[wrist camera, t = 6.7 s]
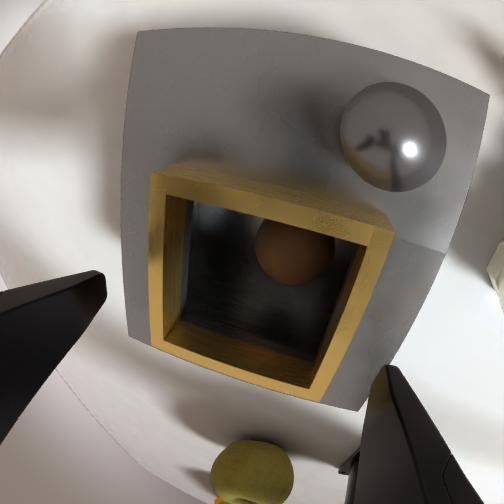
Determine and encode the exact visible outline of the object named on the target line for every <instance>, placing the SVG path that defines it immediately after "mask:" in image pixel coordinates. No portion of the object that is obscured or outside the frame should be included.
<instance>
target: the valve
mask: <svg viewBox="0 0 504 504" xmlns="http://www.w3.org/2000/svg"><path fill="white" fill-rule="evenodd" d="M486 270H487V273H488V275H489V278H490V280H491V283H492V285H493V288H494V290H495V292H496V293H497V295H498V296H499V300H500V304H501V308H502V310H503V313H504V241H502V242H500V244H499V246H498V247H497V249H496V251H495V253H494V255H493V257H492V258H491V260H490V262H489V264H488V266H487V268H486Z"/></svg>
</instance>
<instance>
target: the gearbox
mask: <svg viewBox="0 0 504 504" xmlns="http://www.w3.org/2000/svg"><path fill="white" fill-rule="evenodd" d="M489 96H490V95H489V94H487V93H485V92H483V91H481V90H479V89H477V88H475V87H473V86H471V85H469V84H467V83H464V82H462V81H460V80H458V79H456V78H453V77H451V76H449V75H446V74H444V73H441V72H439V71H436V70H434V69H431V68H429V67H426V66H423V65H421V64H418V63H415V62H412V61H409V60H406V59H403V58H400V57H397V56H394V55H391V54H387V53H384V52H380V51H377V50H373V49H370V48H366V47H362V46H358V45H354V44H349V43H345V42H340V41H336V40H331V39H325V38H320V37H314V36H308V35H302V34H295V33H287V32H279V31H269V30H258V29H243V28H175V29H160V30H149V31H139V32H138V33H137V38H136V43H135V49H134V54H133V60H132V67H131V73H130V80H129V88H128V96H127V104H126V114H125V124H124V136H123V151H122V172H121V248H122V268H123V284H124V296H125V307H126V317H127V326H128V334H129V336H130V337H132V338H134V339H136V340H139V341H141V342H143V343H145V344H147V345H150V346H152V347H154V348H157V349H159V350H161V351H164V352H166V353H169V354H171V355H173V356H176V357H178V358H181V359H183V360H186V361H188V362H191V363H194V364H196V365H199V366H201V367H204V368H207V369H209V370H212V371H215V372H218V373H221V374H223V375H226V376H229V377H232V378H235V379H238V380H241V381H244V382H247V383H250V384H253V385H257V386H260V387H263V388H266V389H270V390H273V391H276V392H280V393H283V394H287V395H290V396H294V397H298V398H302V399H305V400H309V401H313V402H317V403H321V404H325V405H330V406H334V407H338V408H343V409H348V410H352V411H357V412H358V411H359V410H360V408H361V407H362V405H363V404H364V402H365V401H366V400H367V398H368V397H369V392H370V387H371V384H372V382H373V381H374V379H375V377H376V376H377V374H378V373H379V371H380V369H381V368H382V366H383V365H385V364H390V363H391V361H392V359H393V358H394V356H395V354H396V353H397V351H398V349H399V348H400V346H401V344H402V342H403V341H404V339H405V337H406V335H407V334H408V332H409V330H410V328H411V326H412V324H413V322H414V321H415V319H416V317H417V315H418V313H419V311H420V309H421V307H422V305H423V303H424V301H425V299H426V297H427V295H428V293H429V291H430V288H431V286H432V284H433V282H434V280H435V278H436V275H437V273H438V271H439V269H440V266H441V264H442V262H443V259H444V257H445V254H446V252H447V249H448V247H449V244H450V242H451V239H452V237H453V234H454V231H455V229H456V226H457V223H458V220H459V217H460V214H461V212H462V209H463V206H464V203H465V199H466V196H467V193H468V190H469V186H470V183H471V180H472V176H473V172H474V169H475V165H476V161H477V157H478V153H479V149H480V144H481V140H482V135H483V131H484V126H485V120H486V115H487V109H488V103H489ZM265 218H266V219H270V220H274V221H278V222H281V223H285V224H289V225H293V226H296V227H300V228H304V229H308V230H311V231H315V232H319V233H322V234H326V235H329V236H333V237H335V254H334V258H333V260H332V262H331V264H330V266H329V268H328V269H327V271H326V272H325V273H324V274H323V275H322V276H321V277H319V278H318V279H316V280H315V281H313V282H311V283H308V284H304V285H286V284H283V283H280V282H278V281H276V280H274V279H273V278H271V277H270V276H269V275H268V274H267V273H266V272H265V271H264V270H263V268H262V267H261V265H260V263H259V261H258V259H257V256H256V251H255V240H256V235H257V232H258V229H259V227H260V225H261V223H262V222H263V220H264V219H265Z"/></svg>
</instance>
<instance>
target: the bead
mask: <svg viewBox="0 0 504 504" xmlns="http://www.w3.org/2000/svg"><path fill="white" fill-rule="evenodd" d="M255 251H256V256H257V259H258V261H259V263H260V265H261V267H262V268H263V270H264V271H265V272H266V273H267V274H268V275H269V276H270V277H271V278H273V279H274V280H276V281H278V282H280V283H283V284H286V285H304V284H308V283H311V282H313V281H315V280H316V279H318V278H319V277H321V276H322V275H323V274H324V273H325V272H326V271H327V269H328V268H329V266H330V264H331V262H332V260H333V258H334V254H335V237H333V236H329V235H326V234H322V233H319V232H315V231H311V230H308V229H304V228H300V227H296V226H293V225H289V224H285V223H281V222H278V221H274V220H270V219H266V218H265V219H264V220H263V222H262V223H261V225H260V227H259V229H258V232H257V235H256V240H255Z"/></svg>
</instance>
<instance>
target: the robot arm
mask: <svg viewBox="0 0 504 504" xmlns="http://www.w3.org/2000/svg"><path fill="white" fill-rule="evenodd" d="M106 298H107V288H106V279H105V276H104V274H103V273H101V272H98V271H96V270H92V271H87V272H83V273H78V274H74V275H69V276H65V277H61V278H56V279H52V280H48V281H43V282H39V283H35V284H31V285H26V286H22V287H18V288H14V289H10V290H6V291H4V292H3V291H1V292H0V445H1V443H2V442H3V440H4V439H5V437H6V436H7V434H8V433H9V431H10V430H11V428H12V427H13V425H14V424H15V423H16V421H17V420H18V417H20V415H21V414H22V412H23V411H24V409H25V408H26V407H27V405H28V404H29V403H30V401H31V400H32V398H33V397H34V396H35V394H36V393H37V392H38V390H39V389H40V388H41V386H42V385H43V383H44V382H45V381H46V380H47V378H48V377H49V376H50V374H51V373H52V372H53V370H54V369H55V368H56V367H57V365H58V364H59V363H60V362H61V360H62V359H63V358H64V357H65V355H66V354H67V353H68V352H69V350H70V349H71V348H72V347H73V345H74V344H75V343H76V342H77V340H78V339H79V338H80V337H81V335H82V334H83V333H84V331H85V330H86V329H87V327H88V326H89V324H90V323H91V321H92V320H93V318H94V317H95V315H96V314H97V312H98V311H99V309H100V308H101V306H102V305H103V304H104V302H105V301H106ZM338 473H339V474H343V475H349V478H348V485H347V491H346V498H345V504H484V502H483V501H482V500H481V498H480V497H479V495H478V494H477V492H476V491H475V489H474V488H473V486H472V485H471V483H470V482H469V480H468V479H467V477H466V476H465V474H464V473H463V471H462V469H461V468H460V466H459V464H458V463H457V461H456V459H455V457H454V456H453V454H451V451H450V449H449V447H448V446H447V444H446V442H445V441H444V439H443V437H442V436H441V434H440V432H439V431H438V429H437V427H436V426H435V424H434V423H433V421H432V419H431V418H430V416H429V415H428V413H427V411H426V410H425V408H424V407H423V405H422V403H421V402H420V400H419V399H418V397H417V396H416V394H415V392H414V391H413V389H412V388H411V386H410V385H409V383H408V382H407V380H406V379H405V377H404V376H403V374H402V373H401V371H400V370H399V368H398V367H397V366H393V365H389V364H385V365H383V366H382V368H381V369H380V371H379V373H378V374H377V376H376V377H375V379H374V381H373V382H372V384H371V387H370V392H369V398H368V404H367V409H366V415H365V420H364V425H363V430H362V437H361V447H360V448H359V449H358V450H357V451H356V452H355V453H354V454H353V455H352V456H351V457H350V458H349V459H348V460H347V461H346V462H345V463H344V464H343V465H342V466H341V467H340V468H339V470H338Z"/></svg>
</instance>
